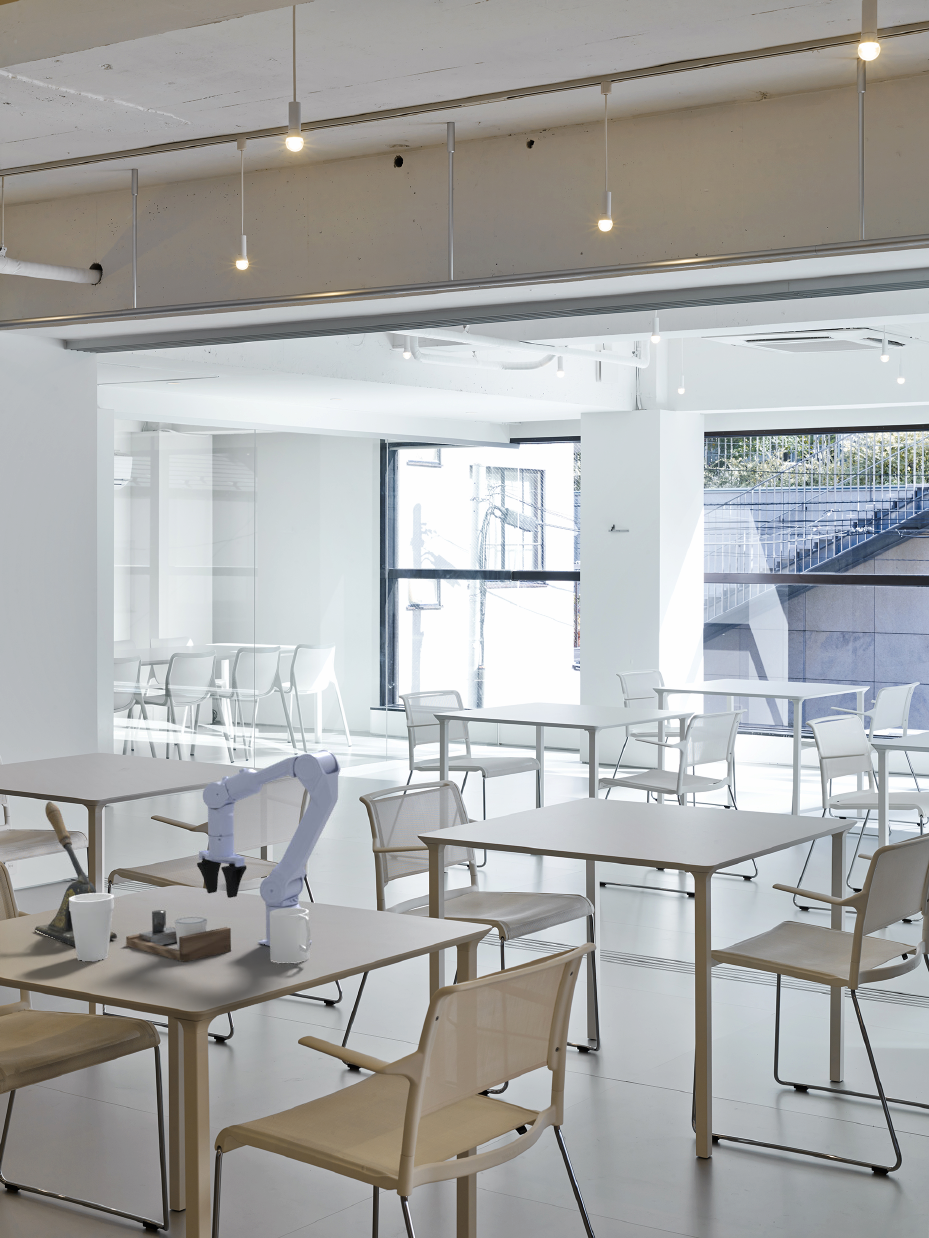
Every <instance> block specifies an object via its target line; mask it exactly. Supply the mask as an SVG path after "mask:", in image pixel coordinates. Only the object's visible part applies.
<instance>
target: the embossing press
mask: <svg viewBox="0 0 929 1238" xmlns="http://www.w3.org/2000/svg"><path fill="white" fill-rule="evenodd" d="M44 811H45V815H46V818H47V820H48V821H49V822H48V823H50V825H51V826H52V828H53V829H54V832H55V835H56V836H57V839H58V842H59V843H60V845H61V847H62V848H63V849H65V850H66V853H67V855H68V856H69V859H70V862H71V865H72V866H73V868H74V870H75V873H76V875H77V880H76V881H74V882H72V883H70V884H69V885H68V886H67V888H66V890H65V892H64V895H63V899H62V901H61V904H60V907H59V908H58V911H57V913H56V914H55V916H54V918H53V919H52V920H51V921H50V923H47V924H42V925H38V926H35V928H34V931H35V930H37V931H39V932H41V933H43V934H45V935H48V936H50V937H53V938H55V939H58V940H60V941H59V942H61V941H62V942H61V943H64V942H65V943H64V944H67V945H70V946H74V947H75V940H74V933H73V926H72V920H71V913H70V911H69V898H70V897H72V896H76V895H80V894H88V893H97V890H96V886H95V885H94V884H93V883H92V882H91V881H89V879H88V876H87V875H86V872H84V870H83V867H82V866H81V864H80V861H79V859H78V857H77V856H76V854H75V851H74V850H73V847H72V845H73V843H72V838H71V835H70V834H69V831H68V830H67V829H66V826H65V825H66V824H65V823H64V819H63V816H62V813H61V810H60V809H59V807H58V806H57V805H56V804H55V803H53V802H52V801H47V803H46V805H45V810H44ZM117 938H118V936H117V934H116V932H113V931H110V940H112V939H113V940H116V939H117ZM55 939H54V940H55ZM58 940H57V941H58Z"/></svg>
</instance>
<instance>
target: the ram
mask: <svg viewBox="0 0 929 1238" xmlns="http://www.w3.org/2000/svg"><path fill="white" fill-rule="evenodd" d="M166 915H167V911H166V910H164V909H157V910H152V912H151V921H152V922H151V923H152V924H151V927H152V928H151V929H152V930H149V931H146V932H145V931H144V932H140V933H138V934H139V940H143V941H147V942H150V943H154V944H158V945H161V946H164V945H167V944H173V943H177V937H176V928H175V927H174V928H172V926H169V927H167V916H166Z"/></svg>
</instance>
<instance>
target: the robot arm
mask: <svg viewBox="0 0 929 1238" xmlns="http://www.w3.org/2000/svg"><path fill="white" fill-rule="evenodd" d="M340 772H341V766H340V764H339V761H338V758H337V757H336V755H335V754H334V753H333V752H332V751H330V750H328V749H321V750H318V751H315V752H311V753H302V754H300V755H296V756H292V757H287V758H285V759H283V760H280V761H277V762H276V763H274V764H271V765H269V766H268V767H265V768H262V769H260V770H259V771H257V770H255V769H253V768H247V767H243V768H241V769H239V770H238V773H235V774H233V775H231V776H229V775H226V776H223V777H221V779H222V780H220V781H217V782H216V781H214V782H213V781H212V782H210V783H209V784H207V785H206V786H205V787H204V789H203V791H202V800H203V802H204V804H205V805H206V806H207V827H208V830H207V831H208V832H207V834H208V837H207V841H208V842H207V843H208V844H207V845H208V850H206V849H204V850H199V851H198V859H199V860H201V861H200V862H197V863H196V866H197V867H198V869H199V871H200V873H201V876H202V878H203V880H204V885H205V890H206V892H207V894H214V893H217V892H218V885H219V883H218V882H219V874H220V873H219V872H220V869H221V871H222V873H223V877H224V881H225V888H226V890H225V891H226V896H227V898H228V899H229V898H230V899H231V898H236V897H238V893H239V888H240V884H241V881H242V878H243V876H244V875H245V873H246V871H247V865H246V864H245V863H246V862H245V860H246V859H245V856H241V855H240V854H237V853H235V830H234V829H235V825H234V824H235V823H234V822H235V821H234V820H235V819H234V816H235V815H234V811H235V805H236V802H238V801H241V800H244V799H246V798H248V797H251V796H253V795H255V794H259V793H260V792H261V791H262V789H263V786H264V785H265V784H267V783H270V782H274V781H276V780H279V779H282V778H284V777H288V776H289V777H291V778H297V779H298V781H299V782H300V784H301V785H302V786H303V787H304V788H305V790H306V791H307V792H308V794H309V797H310V802H309V803H308V805H307V808H306V809H305V812H304V814H303V815H302V817H301V819H300V822H299V823H298V826H297V828H296V830H295V832H294V834H293V836H292V838H291V840H290V842H289V844H288V846H287V849H286V850H285V851H284V854H283V857H282V859H281V860H280V861H278V863H277V864H276V865H275V866H274V868H273V869H272V870H271V872H270V874H269V875H268V876H267V877H264V879H263V880H262V881H261V883H260V886H259V894H260V897H261V899H262V900H263V901H264V903H265V929H266V930H265V932H266V933H265V936H266V939H262V940H258V941H257V943H258V944H261V945H264V944H265V946H267V947H270V911H272V910H275V909H281V908H303V907H301V905H300V904H299V899H300V898H299V895H300V894H301V893H302V892H303V889H304V880H305V877H306V874H307V870H306V869H305V866H306V865H307V863H308V861H309V859H310V858H311V855H312V852H313V851H314V849H315V847H316V845H317V843H318V840H319V838H320V836H321V835H322V833H323V831H324V828H325V826H326V824H327V823H328V821H329V818H330V816H331V814H332V812H333V810H334V808H335V807H336V805H337V802H338V799H339V775H340ZM222 864H226V865H225V866H221V865H222ZM303 909H305V908H303ZM312 943H313V941H312V940H310V944H312Z"/></svg>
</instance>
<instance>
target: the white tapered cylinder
mask: <svg viewBox="0 0 929 1238" xmlns="http://www.w3.org/2000/svg"><path fill="white" fill-rule="evenodd" d="M207 923H208V919H207V918H205V917H198V916H195V917H193V916H191V917H183V918H178V919H176V920H175V921H174V926H175V927H174V928H176V937H177V942H176V944H177V950H179V937H182V936H186V935H191V934H196V933H201V932H205V931H207V926H208V925H207Z"/></svg>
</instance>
